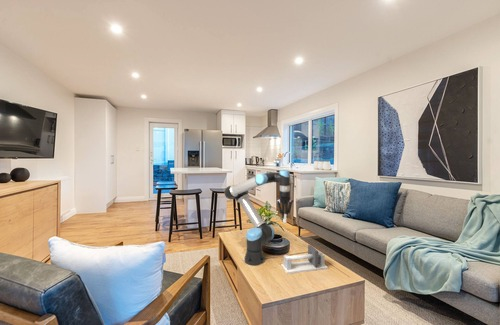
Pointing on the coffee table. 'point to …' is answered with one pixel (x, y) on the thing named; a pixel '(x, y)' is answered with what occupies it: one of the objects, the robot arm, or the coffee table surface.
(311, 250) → the collar
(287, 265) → the pipe stand
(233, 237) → the coffee table surface
